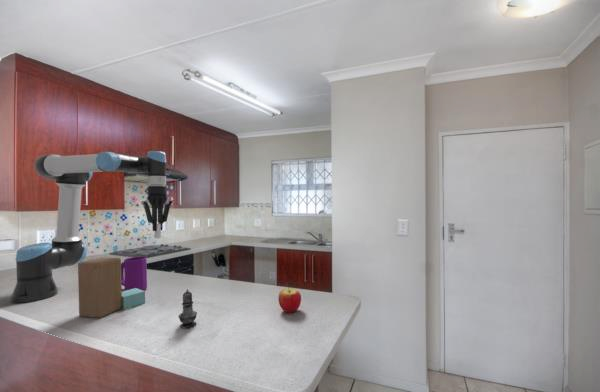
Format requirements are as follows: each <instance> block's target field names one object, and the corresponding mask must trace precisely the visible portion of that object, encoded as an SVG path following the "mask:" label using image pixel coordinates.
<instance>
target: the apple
mask: <svg viewBox="0 0 600 392" xmlns="http://www.w3.org/2000/svg"><path fill="white" fill-rule="evenodd" d="M285 285H286V286H287V287H288V288H285V289H281V290H280V292H279V293H278V305H279V307H280V308H281V310H282V311H284V312H285V313H294V312H296V311H297V310H299V307H300V306H301V302H302V294H301V293H300V291H299V290H297V289H295V288H290V287H289V285H288V283H287V282H286V283H285Z"/></svg>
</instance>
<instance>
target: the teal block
mask: <svg viewBox="0 0 600 392" xmlns="http://www.w3.org/2000/svg"><path fill="white" fill-rule="evenodd" d="M143 304H146V290H144V291H143V290H140V289H137V288H134V289H130V290H126V291H125V290H123V291H122V308H121V310H126V309H130V307H131V308H133V306H134V307H136V306H140V305H143Z"/></svg>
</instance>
